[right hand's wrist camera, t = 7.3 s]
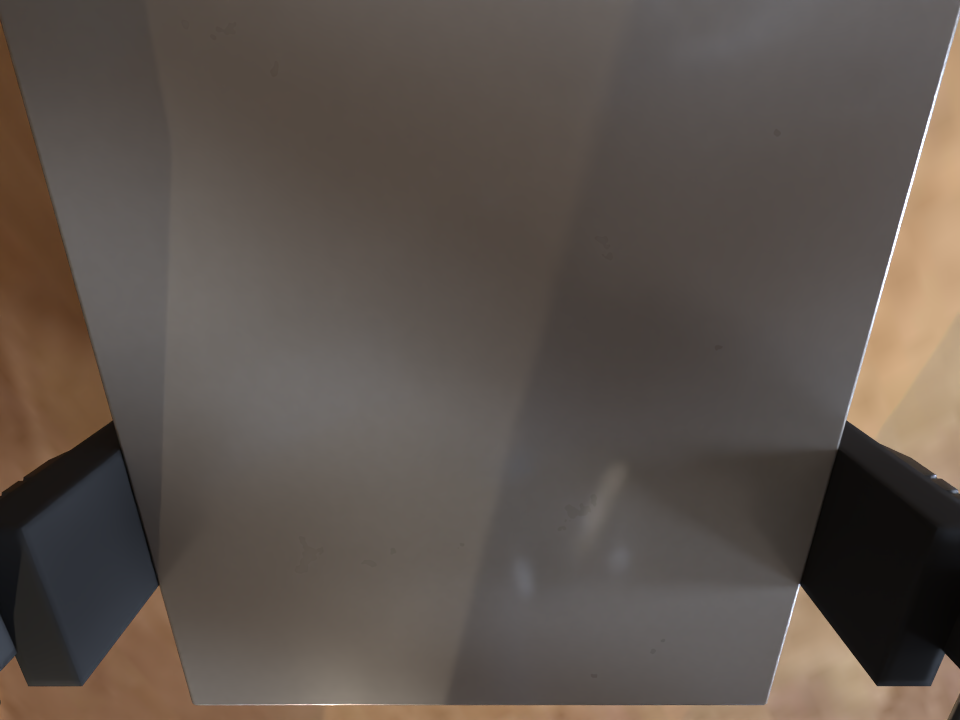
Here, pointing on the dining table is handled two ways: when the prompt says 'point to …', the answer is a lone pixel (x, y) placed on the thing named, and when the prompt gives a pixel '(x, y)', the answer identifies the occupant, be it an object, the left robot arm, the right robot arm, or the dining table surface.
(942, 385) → the dining table surface
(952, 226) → the dining table surface
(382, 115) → the cabinet
